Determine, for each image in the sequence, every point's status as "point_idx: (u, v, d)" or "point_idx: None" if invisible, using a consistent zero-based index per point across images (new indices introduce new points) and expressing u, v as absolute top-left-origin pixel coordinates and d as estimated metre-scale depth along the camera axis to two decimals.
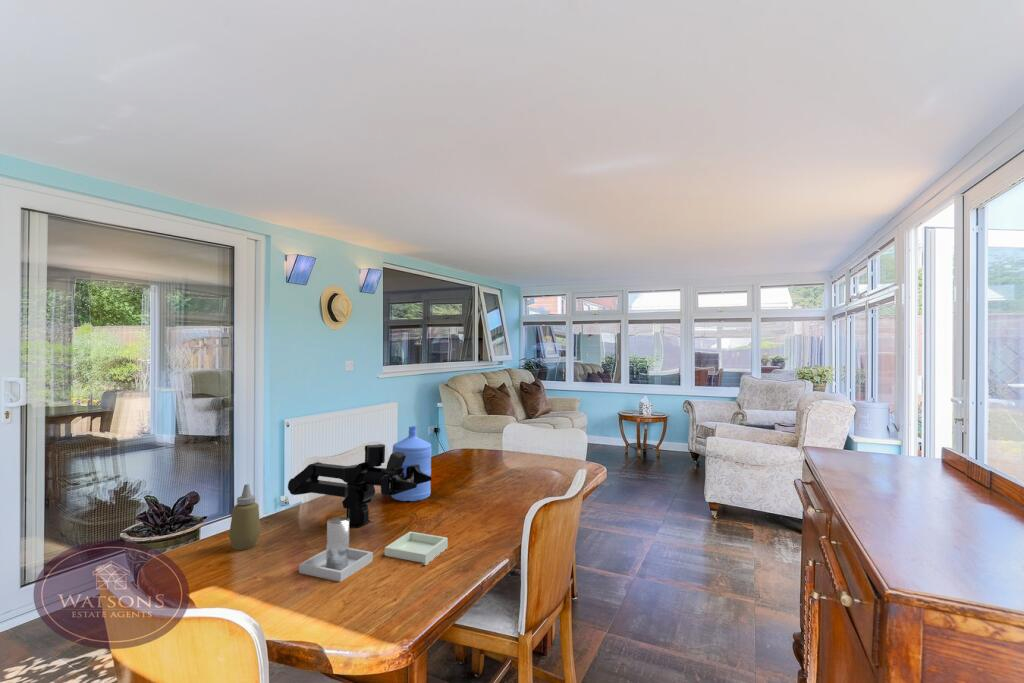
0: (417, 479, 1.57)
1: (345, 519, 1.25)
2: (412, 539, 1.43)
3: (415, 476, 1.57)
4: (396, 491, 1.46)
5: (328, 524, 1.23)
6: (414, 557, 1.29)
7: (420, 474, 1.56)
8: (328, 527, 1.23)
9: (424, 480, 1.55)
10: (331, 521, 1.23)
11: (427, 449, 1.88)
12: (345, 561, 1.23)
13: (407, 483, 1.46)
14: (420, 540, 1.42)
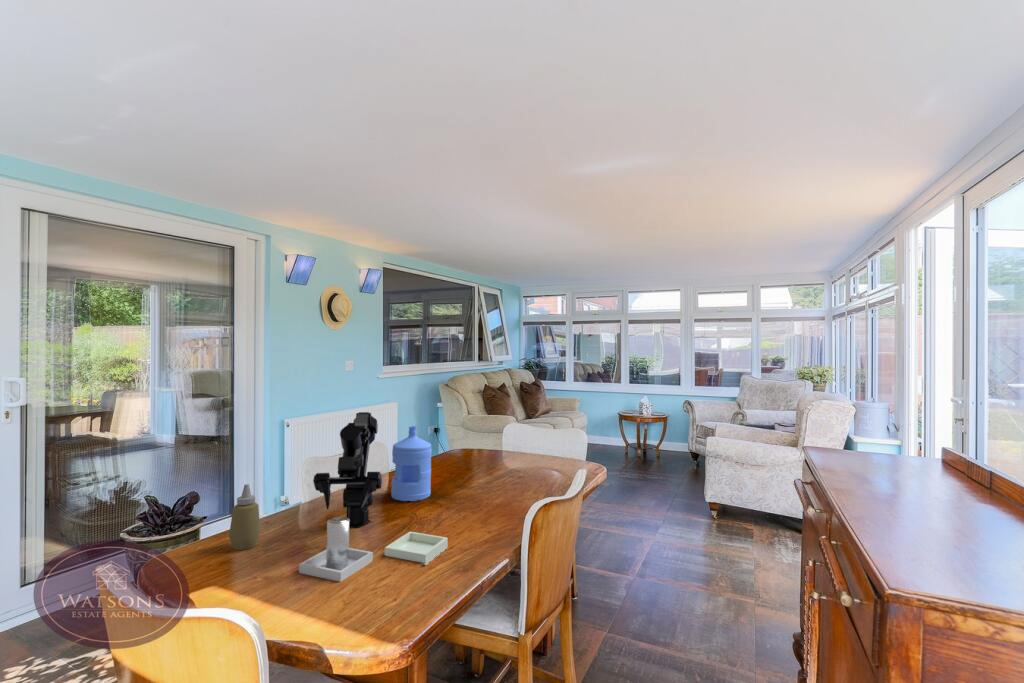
0: None
1: (345, 519, 1.25)
2: (412, 539, 1.43)
3: None
4: (324, 492, 1.37)
5: (328, 524, 1.23)
6: (414, 557, 1.29)
7: None
8: (328, 527, 1.23)
9: None
10: (331, 521, 1.23)
11: (427, 449, 1.88)
12: (345, 561, 1.23)
13: None
14: (420, 540, 1.42)
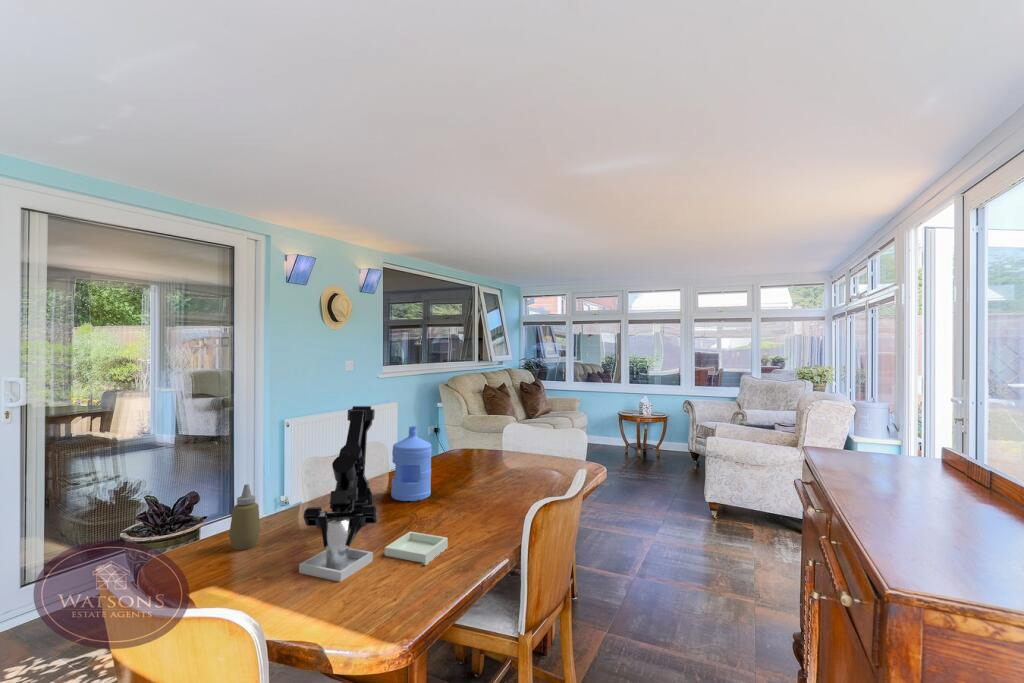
0: None
1: (345, 519, 1.25)
2: (412, 539, 1.43)
3: None
4: None
5: (328, 524, 1.23)
6: (414, 557, 1.29)
7: (351, 528, 1.26)
8: (328, 527, 1.23)
9: None
10: (331, 521, 1.23)
11: (427, 449, 1.88)
12: (345, 561, 1.23)
13: (322, 535, 1.24)
14: (420, 540, 1.42)
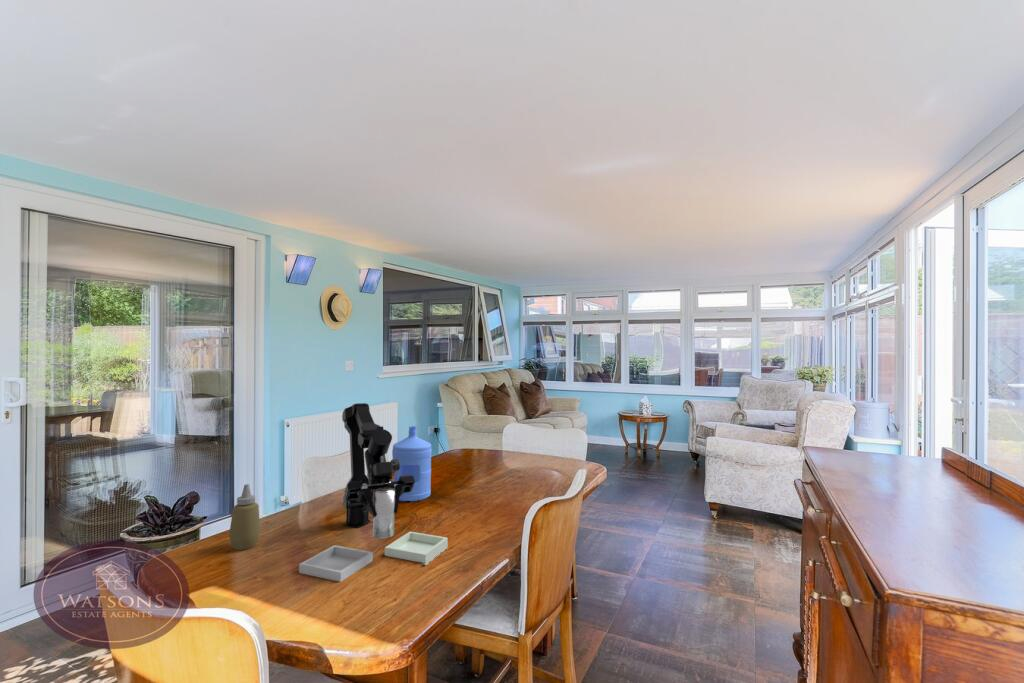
0: None
1: (390, 489, 1.30)
2: (412, 539, 1.43)
3: None
4: (362, 501, 1.31)
5: (378, 494, 1.27)
6: (414, 557, 1.29)
7: None
8: (378, 497, 1.27)
9: None
10: (379, 491, 1.28)
11: (427, 449, 1.88)
12: (393, 528, 1.29)
13: (369, 506, 1.27)
14: (420, 540, 1.42)
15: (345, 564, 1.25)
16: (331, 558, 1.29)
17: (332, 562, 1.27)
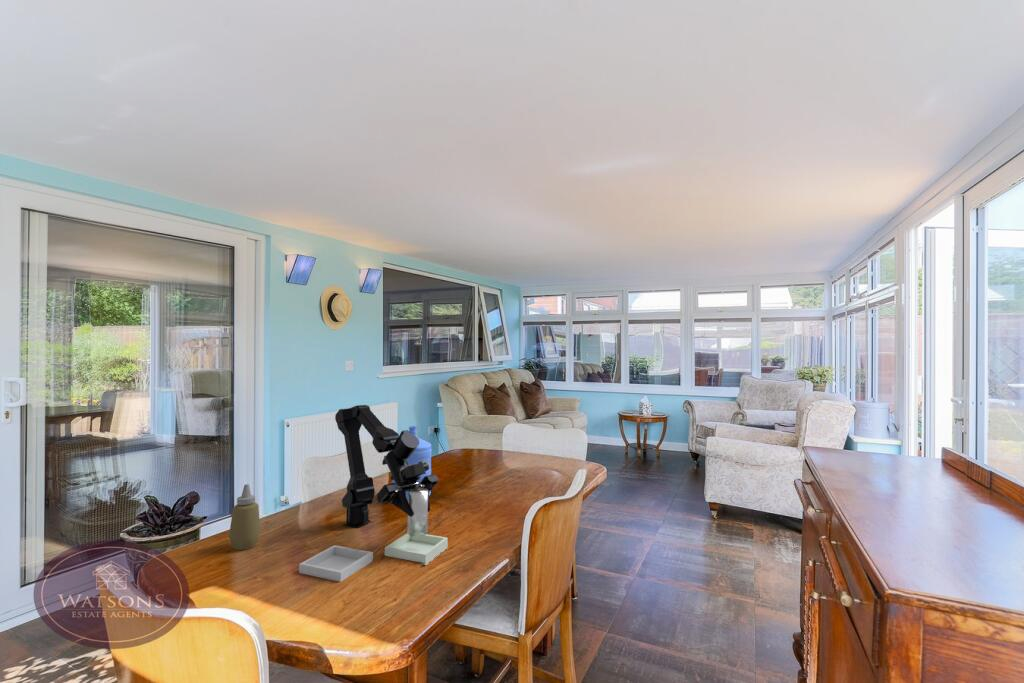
0: None
1: (423, 488, 1.38)
2: (412, 539, 1.43)
3: None
4: (395, 502, 1.35)
5: (415, 494, 1.34)
6: (414, 557, 1.29)
7: None
8: (415, 497, 1.33)
9: None
10: (416, 491, 1.34)
11: (427, 449, 1.88)
12: None
13: (406, 507, 1.33)
14: (420, 540, 1.42)
15: (345, 564, 1.25)
16: (331, 558, 1.29)
17: (332, 562, 1.27)
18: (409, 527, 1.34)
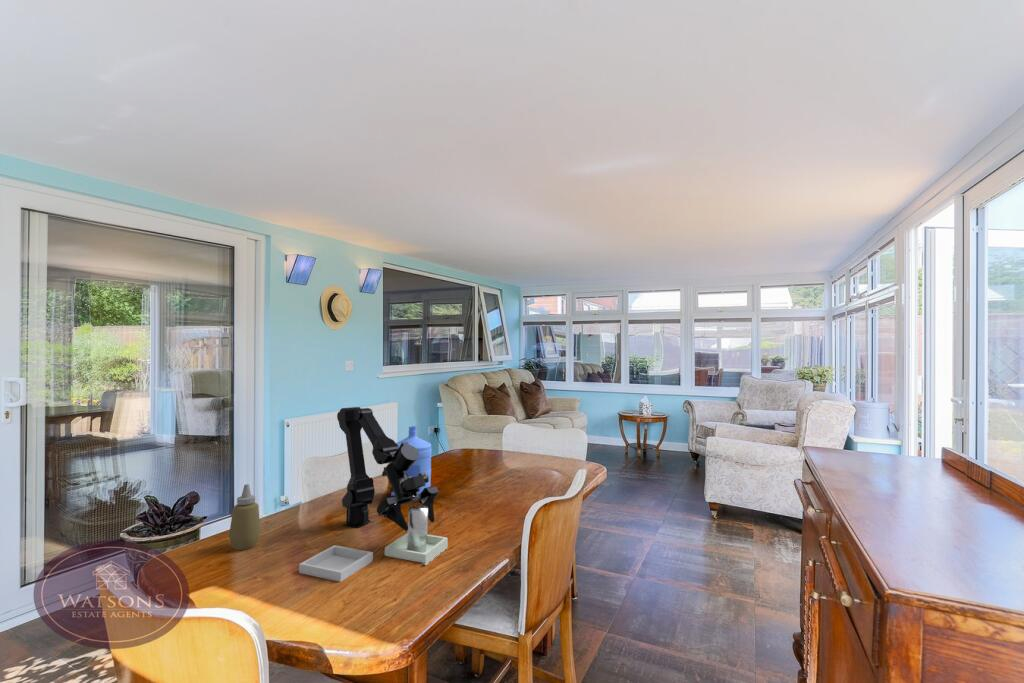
0: None
1: (423, 506, 1.37)
2: None
3: (425, 503, 1.42)
4: (390, 516, 1.34)
5: (415, 512, 1.33)
6: (414, 557, 1.29)
7: (429, 507, 1.40)
8: (415, 515, 1.33)
9: (428, 516, 1.40)
10: (416, 509, 1.34)
11: (427, 449, 1.88)
12: (426, 542, 1.36)
13: (401, 521, 1.32)
14: None
15: (345, 564, 1.25)
16: (331, 558, 1.29)
17: (332, 562, 1.27)
18: (409, 545, 1.34)
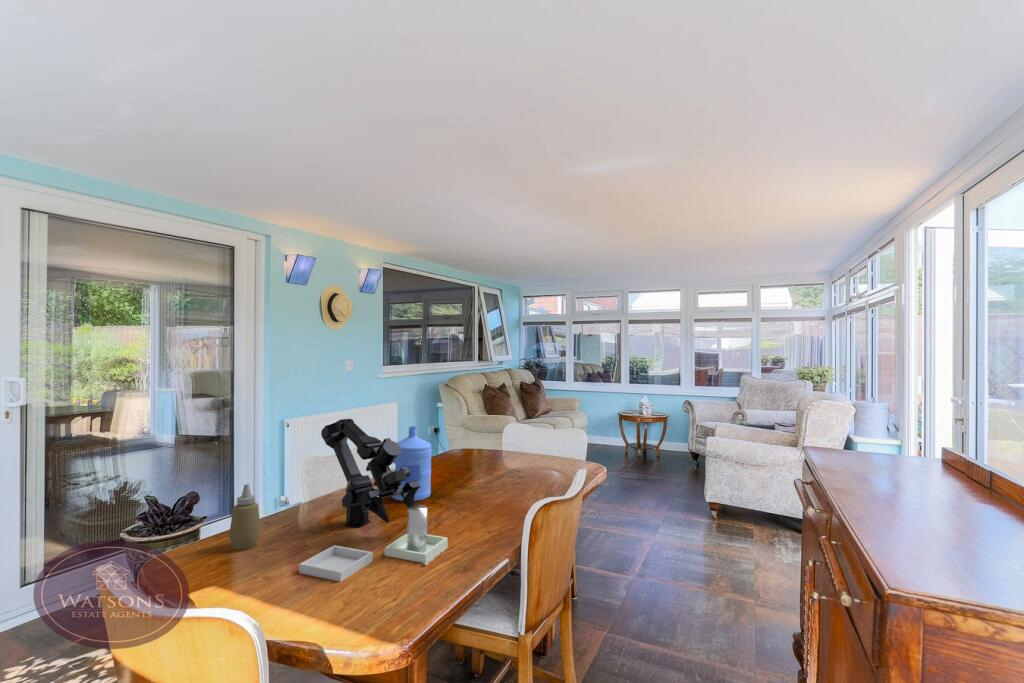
0: (406, 500, 1.48)
1: (422, 506, 1.37)
2: None
3: (407, 496, 1.48)
4: (372, 509, 1.40)
5: (414, 512, 1.33)
6: (414, 557, 1.29)
7: (410, 500, 1.47)
8: (415, 515, 1.33)
9: None
10: (415, 509, 1.34)
11: (427, 449, 1.88)
12: (426, 542, 1.36)
13: (382, 513, 1.38)
14: None
15: (345, 564, 1.25)
16: (331, 558, 1.29)
17: (332, 562, 1.27)
18: (408, 545, 1.34)
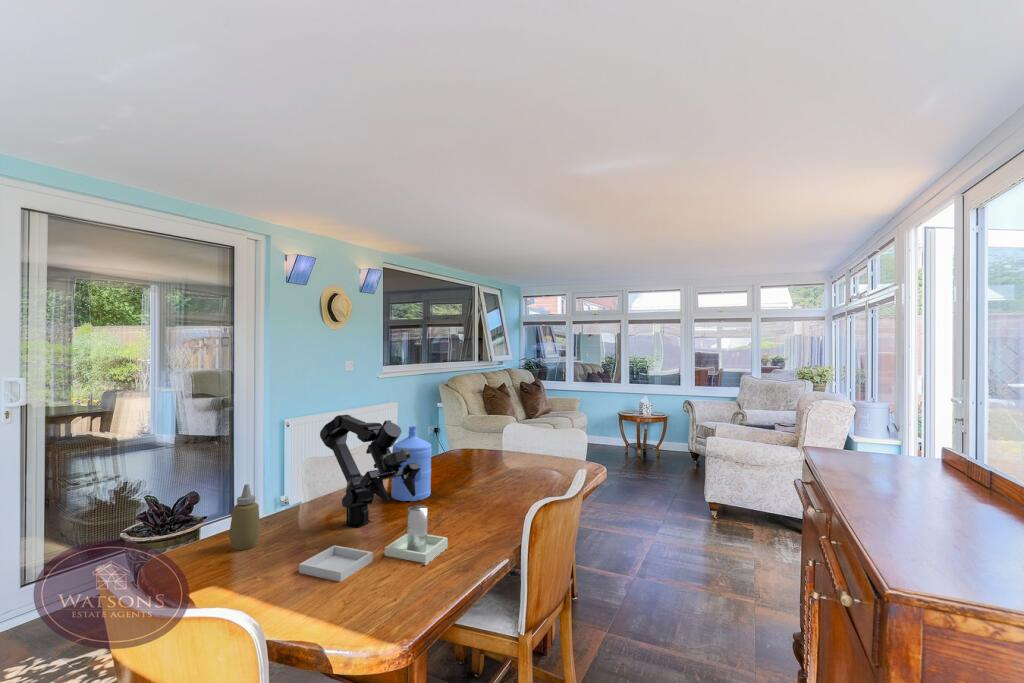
0: (407, 482, 1.49)
1: (422, 506, 1.37)
2: None
3: (407, 478, 1.49)
4: (372, 490, 1.41)
5: (415, 512, 1.33)
6: (414, 557, 1.29)
7: (410, 482, 1.47)
8: (415, 515, 1.33)
9: (409, 490, 1.47)
10: (415, 509, 1.34)
11: (427, 449, 1.88)
12: (426, 542, 1.36)
13: (383, 493, 1.39)
14: None
15: (345, 564, 1.25)
16: (331, 558, 1.29)
17: (332, 562, 1.27)
18: (409, 545, 1.34)
